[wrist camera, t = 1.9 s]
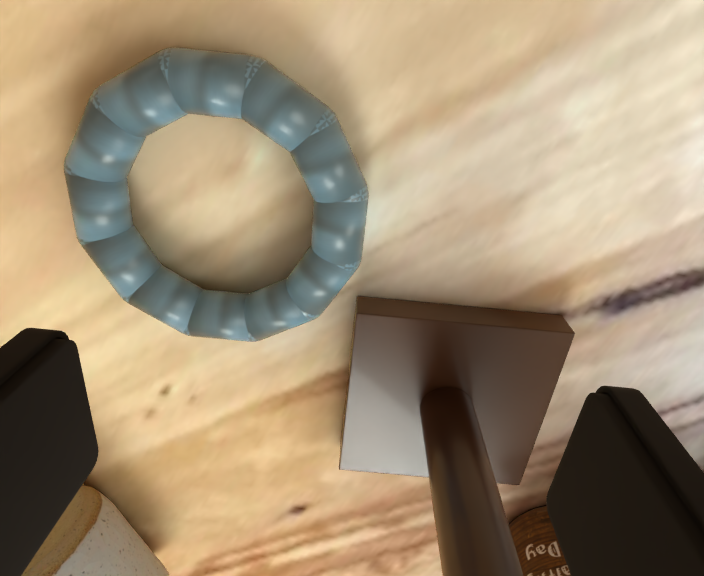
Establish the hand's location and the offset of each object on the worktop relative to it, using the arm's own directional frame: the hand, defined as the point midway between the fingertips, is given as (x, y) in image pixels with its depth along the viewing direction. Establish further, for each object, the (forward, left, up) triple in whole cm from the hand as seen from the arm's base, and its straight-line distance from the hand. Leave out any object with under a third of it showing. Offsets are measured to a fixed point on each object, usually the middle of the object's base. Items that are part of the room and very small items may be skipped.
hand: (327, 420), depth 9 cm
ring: (-5, 0, -10) cm, 11 cm away
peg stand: (+5, -8, -11) cm, 15 cm away
